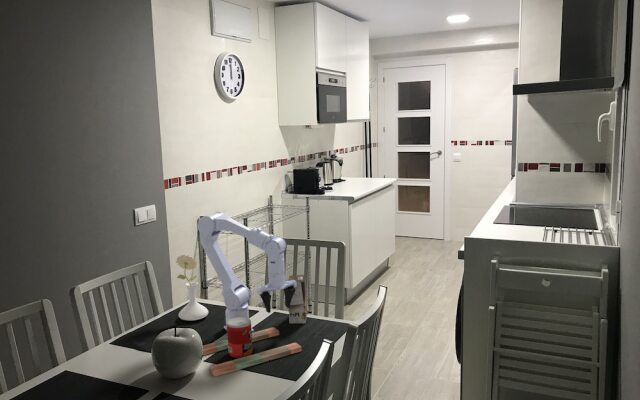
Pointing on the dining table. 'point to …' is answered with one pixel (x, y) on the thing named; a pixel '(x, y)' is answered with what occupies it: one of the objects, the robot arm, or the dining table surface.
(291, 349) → the orange green bars
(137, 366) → the dining table surface
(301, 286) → the coffee box
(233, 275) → the robot arm
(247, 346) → the canned food
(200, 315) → the flower in vase
